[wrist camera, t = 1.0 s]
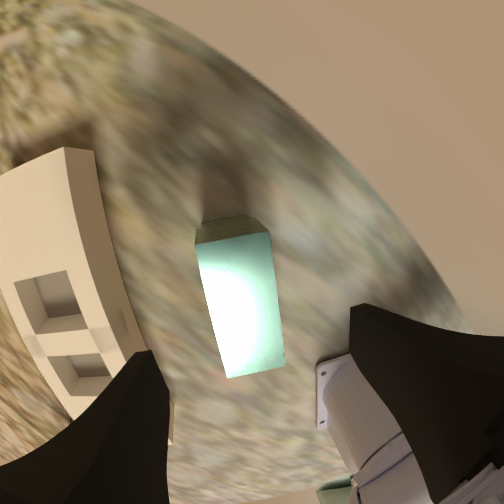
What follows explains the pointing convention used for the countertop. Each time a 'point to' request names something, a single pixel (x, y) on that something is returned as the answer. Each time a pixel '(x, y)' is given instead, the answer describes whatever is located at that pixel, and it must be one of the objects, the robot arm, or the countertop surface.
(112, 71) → the countertop surface
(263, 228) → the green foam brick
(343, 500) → the right angle wall
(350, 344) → the robot arm
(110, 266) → the rail
